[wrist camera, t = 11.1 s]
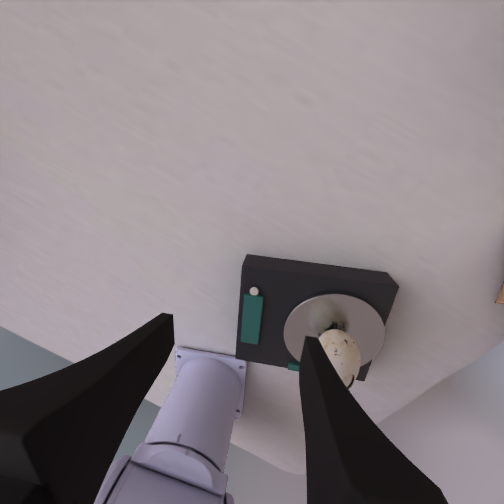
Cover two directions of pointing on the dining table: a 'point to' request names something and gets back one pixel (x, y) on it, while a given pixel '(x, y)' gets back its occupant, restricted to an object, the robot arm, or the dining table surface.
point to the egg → (342, 354)
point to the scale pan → (334, 322)
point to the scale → (288, 294)
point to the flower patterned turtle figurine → (501, 296)
